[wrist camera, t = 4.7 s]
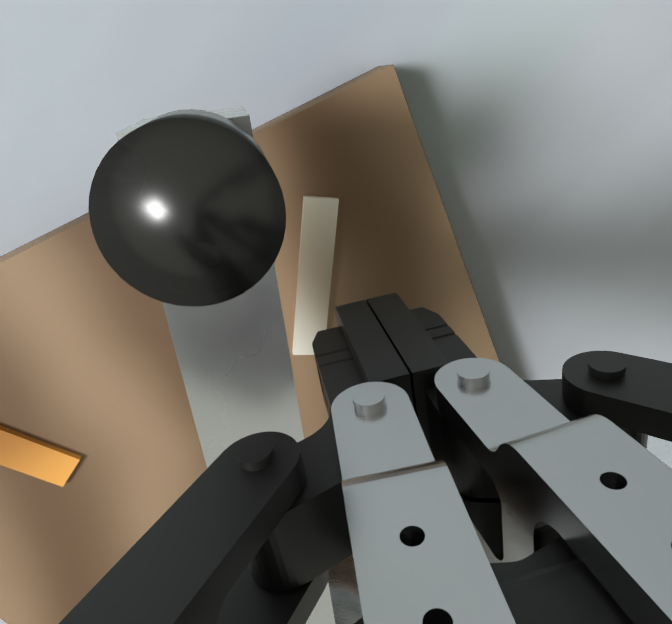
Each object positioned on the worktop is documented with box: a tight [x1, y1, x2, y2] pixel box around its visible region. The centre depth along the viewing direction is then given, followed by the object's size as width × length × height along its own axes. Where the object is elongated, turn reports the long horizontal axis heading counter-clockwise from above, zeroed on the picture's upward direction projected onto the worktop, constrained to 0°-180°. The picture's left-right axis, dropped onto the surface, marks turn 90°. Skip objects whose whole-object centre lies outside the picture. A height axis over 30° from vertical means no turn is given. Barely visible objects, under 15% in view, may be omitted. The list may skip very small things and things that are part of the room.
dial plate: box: [0, 65, 499, 624], centre depth 21 cm, size 20×28×2 cm
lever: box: [89, 107, 363, 624], centre depth 14 cm, size 19×5×8 cm, turn 7°
